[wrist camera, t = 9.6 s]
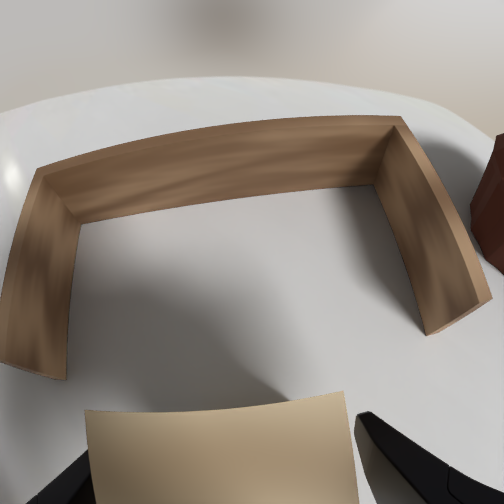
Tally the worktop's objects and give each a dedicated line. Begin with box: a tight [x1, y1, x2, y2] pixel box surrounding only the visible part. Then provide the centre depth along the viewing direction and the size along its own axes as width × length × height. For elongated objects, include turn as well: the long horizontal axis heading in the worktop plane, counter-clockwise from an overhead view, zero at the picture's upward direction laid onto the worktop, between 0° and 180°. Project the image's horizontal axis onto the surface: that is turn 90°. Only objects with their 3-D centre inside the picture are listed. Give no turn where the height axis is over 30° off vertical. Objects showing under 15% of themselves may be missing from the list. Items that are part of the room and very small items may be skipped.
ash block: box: [85, 391, 359, 504], centre depth 9 cm, size 5×5×12 cm
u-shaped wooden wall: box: [0, 115, 493, 380], centre depth 17 cm, size 13×25×6 cm, turn 97°
